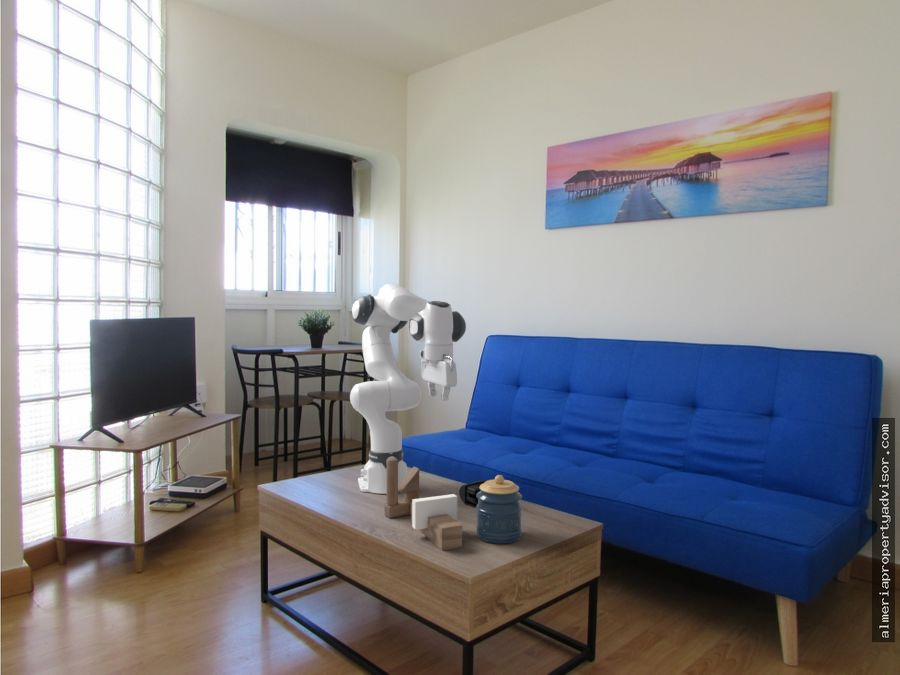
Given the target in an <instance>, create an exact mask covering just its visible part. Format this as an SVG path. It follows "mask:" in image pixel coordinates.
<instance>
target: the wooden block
mask: <svg viewBox="0 0 900 675" xmlns="http://www.w3.org/2000/svg"><path fill="white" fill-rule="evenodd" d="M401 494H404V501H399V495H401ZM412 499H420V468H418V467H416V466H412V468H411V469H410V471H408V472H407V476H406V477H405V478H404V480H403V481H402V482H401V483H400V485H399V486H398V459H396V458H389V459H387V494H386V503H385V504H384V516H385V517H387V518H389V519H393V518H397V517H402V516H403V517H404V516H407V515H411V502H412Z"/></svg>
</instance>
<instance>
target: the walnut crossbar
mask: <svg viewBox="0 0 900 675" xmlns="http://www.w3.org/2000/svg"><path fill="white" fill-rule="evenodd" d="M410 523H411V524H412V502H411V514H410ZM418 530H419V531H420V532H422V534H423V535H425V536H426V537H427V538H428V539H429V541H431V542H432V543H433V544H434V545H435V546H436V547H437V548H439V549H440V550H441V551H447V550H452V549H457V548H462V547H463V525H462V524H461V523H460V522H458V520H457V521H456V520H454V519H453V518H452V517H451V516H449V515H448V514H445V515H438V516H431V517H428V528H424V529H418Z"/></svg>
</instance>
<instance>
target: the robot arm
mask: <svg viewBox="0 0 900 675" xmlns="http://www.w3.org/2000/svg"><path fill="white" fill-rule="evenodd" d="M351 316H352V319H353V322H355V323H357V324H359V325H361V326H365V325H366V326H367V327H366V328H365V329H364V330H363V332H362V337H361V338H362V339H361V346H362V347H361V348H362V356H363V360H364V366H365V371H366V372H367V374H368V375H369V376H370V377H371V378H373V379H375V380H368V381H364V382H359V383H356V384H354V385H353V386H352V389H351V390H350V393H349V400H350V401H349V402H350V404H351V406H352V407H353V409H354V410H355V411H356V412H358V413H359V414H360V415H362V417H363V418H364V419H365V420H366V423H367V424H368V427H369V435H370V449H369V453H368V461H367V462H366V463H365V465H364V468H361V469H360V476H361V477H358V478H357V483H358V486H359V491H361V492H363V493H372V494H383V495H384V494H386V495H387V459H389V458H396V459H398V486H399V485H400V483H401V482H402V481H403V480H404V478H405V477H406V476H407V474H408V470H407V469H408V468H407V466H408V465H407V463H406V462H405V461H403V459H404V450H403V447H402V446H403V444H402V443H403V442H402V441H403V440H402V438H403V436H402V435H403V434H402V432H403V431H402V428H401V426H400V425H399V424H398V423H397V422H395V421H394V420H391V419H388V418H387V417H386V412H398V411H407V410H411V409H414V408H417V407H418V405H420V402H421V400H422V390H421V387H420V386H419V384H418V383H417V382H416V381H415V380H412V379H410V378H409V377H407V376H406V375H405V374H404V373H403V372H402V371H401V370H400V369H399V366H398V365H397V361H396V360H395V355H394V351H393V347H392V343H391V336H390V335H391V333H392V334H397V333H398V332H399V331H400V330H401V329H403V328H404V327H405V326H406V325H407V324H408V323H409V325H408V326H409V327H408V328H409V329H408V330H409V334H410V336H411V337H412V338H413V340H415V341H417V342H421V343H422V342H423V343H424V348H423V349H422V350H420V351H419V358H420V359H421V361H420V371H421V372H420V374H421V378H422V380H423V381H426V382H427V386H428V390H429V396H431V397H437V390H436V385H438V386H441V387H442V388H441V389H442V393H441V396H440V397H441V398H440V400H442V401H448V400H449V395H450V392H451V387H452V388H453V387H457V383H458V373H457V364H456V362H455V361H454V343H458V341H460V340H461V339H462V338H463V337H464V334H465V333H466V330H467V325H466V321H465V318H464V317H463V315H462V314H461V313H460V312H459V311H457V310H456V311H453V308H452V305H451V304H449V303H448V302H446V301H439V300H432V301H429V300H427V299H424V298H423V297H421V296H419V295H417V294H416V293H415V294H414V293H413V292H411V291H410V290H408V289H407V288H405V287H403V286H402V285H399V284H397V283H387V284H384V285H383V286H381V287H380V289H379V291H378V294H377V295H375V296H373V295H372V294H367V295H362V296H359V297H358V298H357V299H355V300H354V302H353V304H352V308H351Z"/></svg>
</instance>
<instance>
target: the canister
mask: <svg viewBox="0 0 900 675" xmlns="http://www.w3.org/2000/svg"><path fill="white" fill-rule="evenodd" d="M479 488H480V490H481V491H479V492H478V493H477V495H476V496H477V498H478V504H477V507H476V526H475V527H476V530H475V531H476V536H477V538H478V539H480V540H481V541H483V542H486V543H490V544H500V545H501V544H502V545H504V544H510V543H515V542H517V541H519V539H521V536H522V532H523V531H522V530H523V528H522V510H523V507H522V505H521V500H522V499H523V495H522V494H521V493H520V492H518V491H519V490H520V486H519V485H517V484H516V483H514V482H513V481H511V480H508V479H505V478H504V476H503V475H502V474H497V475H496V476H495V477H494V479H487V481H486V482H485V483H483V484H481V485H480V487H479Z"/></svg>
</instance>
